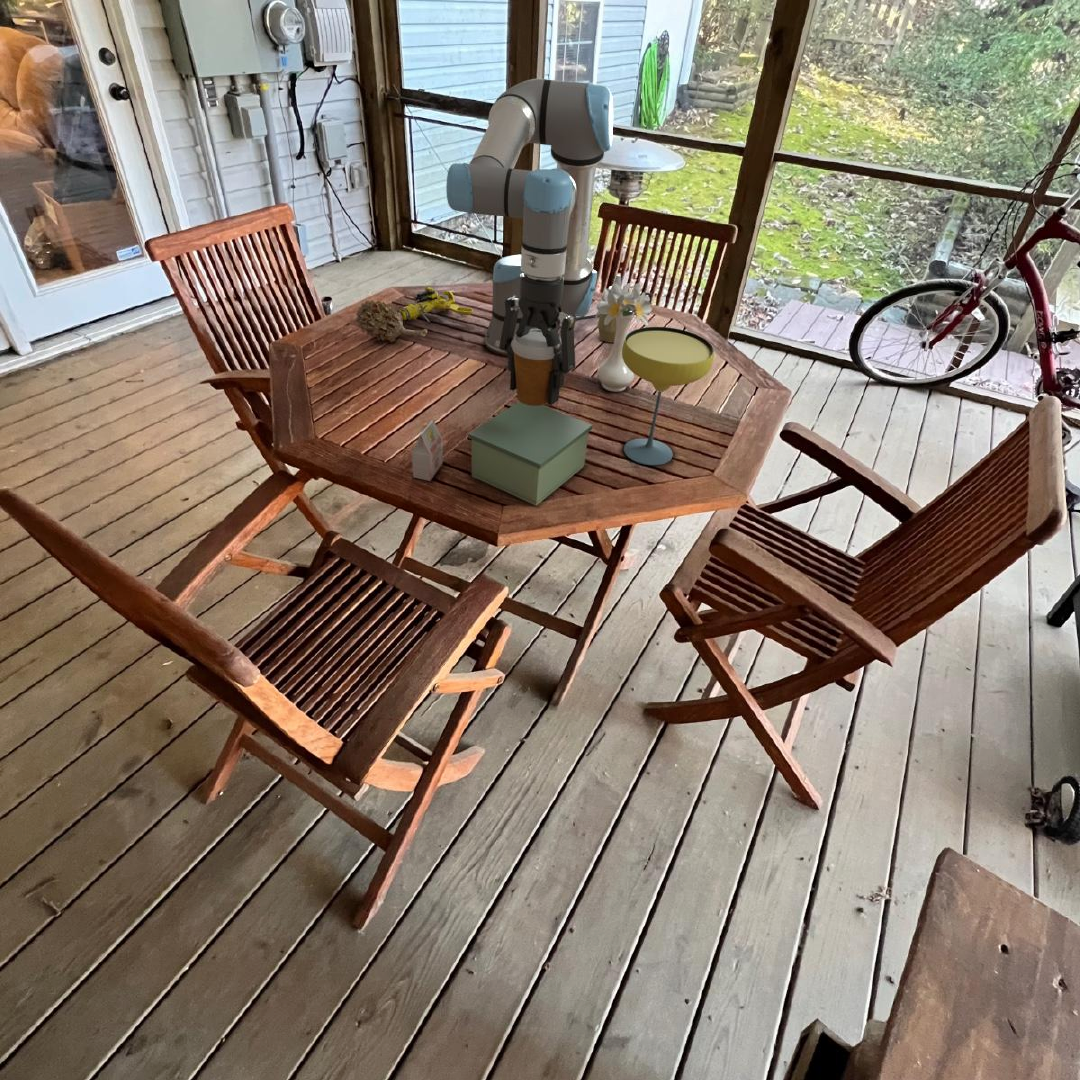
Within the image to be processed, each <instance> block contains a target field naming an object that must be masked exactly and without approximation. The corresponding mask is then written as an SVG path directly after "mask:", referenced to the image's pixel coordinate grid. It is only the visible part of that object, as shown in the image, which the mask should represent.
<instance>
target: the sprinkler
mask: <svg viewBox="0 0 1080 1080" xmlns="http://www.w3.org/2000/svg"><path fill="white" fill-rule="evenodd" d="M438 293H439V292H438V291H437V290H435V289H434V287H431V286H428V287H425V288H424V291H421V292H419V293H417V294H416V297H415V299H414V300H412V301H409V302H408V301H407V300H406V298H405V296H404V295H402V298H403V300H404V301H405V303H406V305H407V306H404V307H402V309H400V310H399V313H400V314H401V315H402V316H403V320H402V321H411V320H413V321H415V320H417V319H418V317H420V316H422V317H423V318H424V319H425V320H426V321H427V322H428V323H430V322H431V321H430V320H429V319H428V318H427V317H426V315H425V314H427V313H428V314H429V312H432V310H438V311H442V312H450V311H451V312H454V313H455V314H457V315H461V316H466V317H467V316H470V315H472V314H473V311H474V309H473V308H470V307H464V306H460V305H457V304H455V301H456V300H455V296H454V294H453V292H451V291H448V290H444V291H443V293H442V295H440V296H439V294H438Z"/></svg>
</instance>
